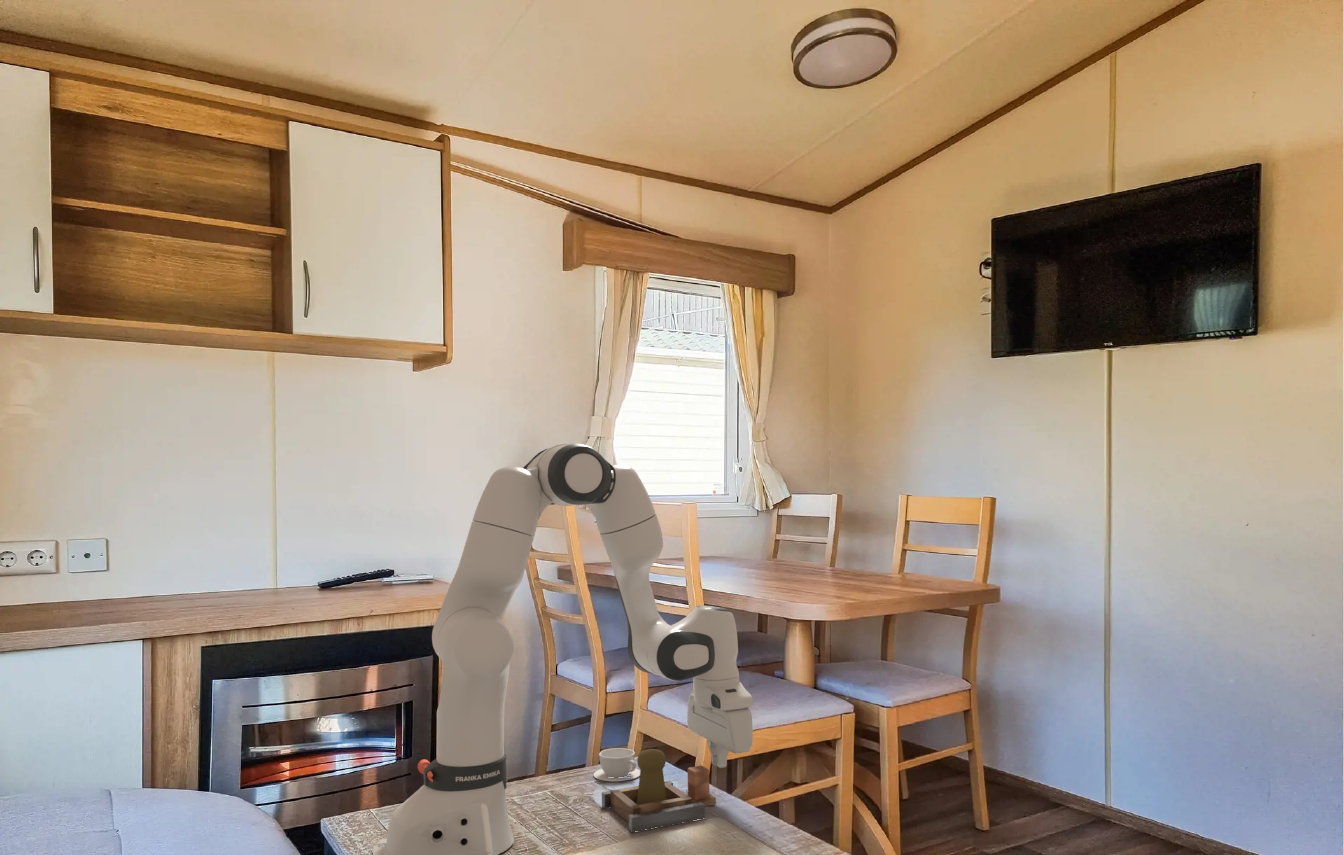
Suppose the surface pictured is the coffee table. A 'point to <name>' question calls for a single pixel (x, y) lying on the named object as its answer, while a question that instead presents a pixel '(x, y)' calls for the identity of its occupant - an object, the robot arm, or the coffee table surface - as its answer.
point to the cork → (651, 776)
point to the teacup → (617, 765)
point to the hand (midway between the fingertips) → (719, 765)
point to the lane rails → (660, 814)
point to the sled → (697, 792)
